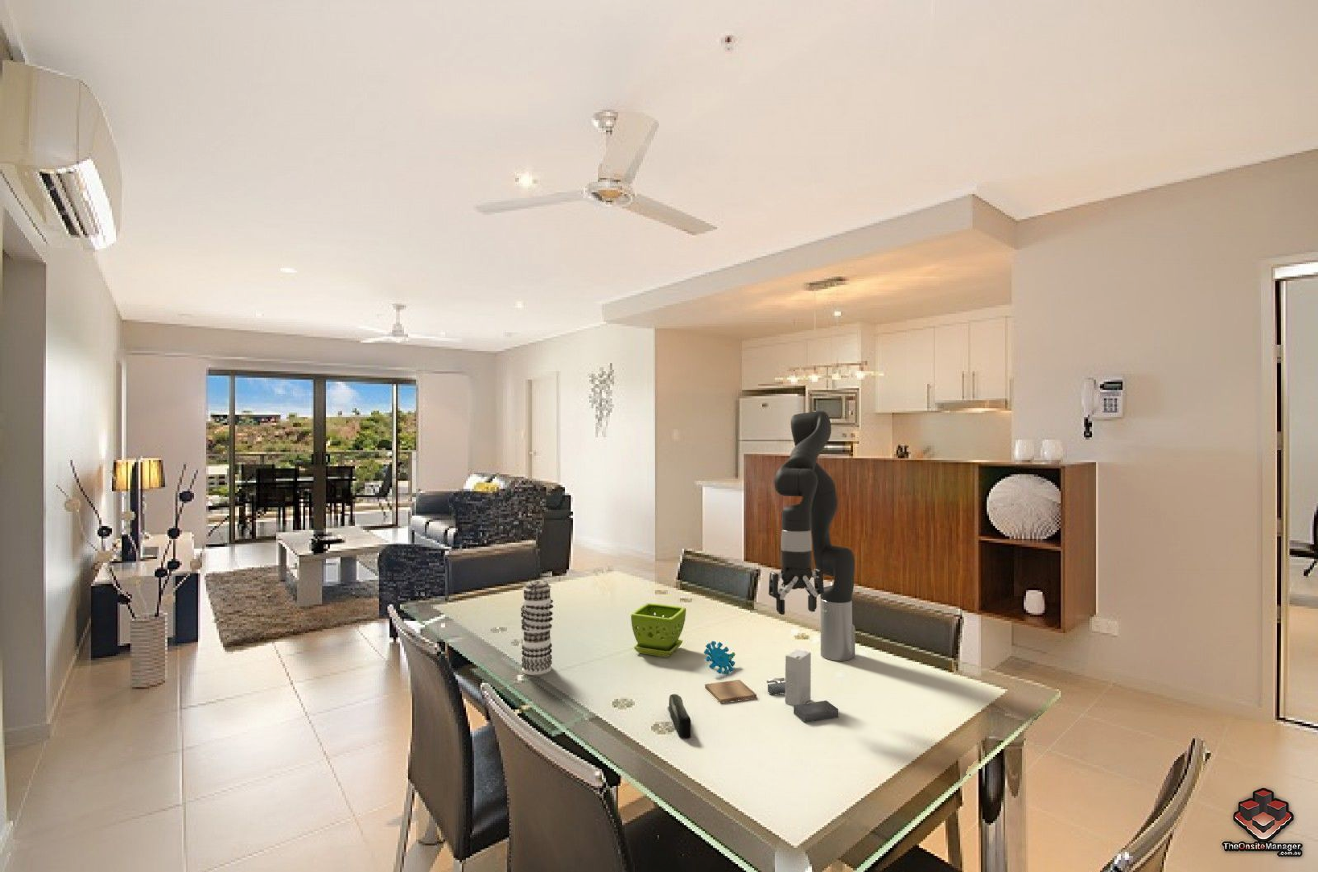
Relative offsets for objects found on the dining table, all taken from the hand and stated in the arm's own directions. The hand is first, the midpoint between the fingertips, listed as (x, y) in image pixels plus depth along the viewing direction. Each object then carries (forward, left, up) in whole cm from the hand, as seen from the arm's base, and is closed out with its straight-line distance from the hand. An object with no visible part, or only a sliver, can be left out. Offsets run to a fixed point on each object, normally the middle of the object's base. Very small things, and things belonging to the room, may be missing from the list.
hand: (796, 612), depth 149 cm
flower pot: (+22, -46, -22) cm, 55 cm away
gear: (+10, -25, -22) cm, 35 cm away
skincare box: (0, 0, -22) cm, 22 cm away
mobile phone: (+32, +2, -23) cm, 39 cm away
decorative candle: (+60, -42, -22) cm, 76 cm away
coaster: (+14, -10, -22) cm, 28 cm away
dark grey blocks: (0, 0, -22) cm, 22 cm away
